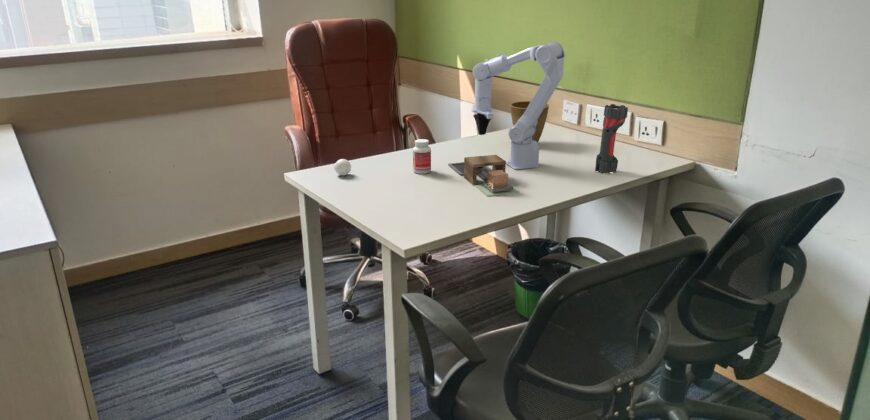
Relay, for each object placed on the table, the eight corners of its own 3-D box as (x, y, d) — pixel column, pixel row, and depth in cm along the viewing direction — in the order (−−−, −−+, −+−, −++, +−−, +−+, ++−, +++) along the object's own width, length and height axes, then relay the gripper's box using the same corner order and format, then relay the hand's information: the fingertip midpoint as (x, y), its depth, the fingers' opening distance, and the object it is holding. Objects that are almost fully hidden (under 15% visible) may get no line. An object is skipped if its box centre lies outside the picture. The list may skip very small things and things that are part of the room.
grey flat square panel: (479, 162, 234) (479, 160, 234) (493, 172, 222) (493, 170, 222) (448, 165, 230) (448, 163, 230) (461, 176, 219) (461, 174, 218)
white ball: (355, 175, 220) (354, 159, 218) (342, 178, 216) (341, 162, 214) (340, 170, 225) (340, 154, 223) (327, 174, 221) (326, 158, 219)
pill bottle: (434, 172, 223) (434, 141, 219) (419, 175, 219) (419, 144, 215) (424, 167, 227) (424, 137, 223) (409, 170, 224) (409, 139, 220)
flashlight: (625, 172, 222) (632, 106, 214) (611, 176, 218) (618, 109, 209) (607, 166, 228) (613, 102, 220) (592, 171, 223) (598, 105, 215)
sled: (482, 166, 225) (482, 154, 223) (513, 189, 203) (513, 175, 201) (463, 168, 223) (463, 155, 221) (492, 192, 200) (493, 178, 199)
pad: (506, 182, 212) (506, 181, 212) (519, 192, 203) (519, 191, 203) (475, 186, 209) (475, 185, 209) (487, 196, 200) (487, 195, 200)
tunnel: (495, 174, 220) (495, 154, 218) (505, 181, 213) (505, 161, 211) (464, 177, 217) (464, 157, 214) (472, 185, 210) (473, 164, 207)
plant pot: (553, 143, 256) (556, 104, 251) (532, 151, 246) (535, 110, 240) (522, 137, 266) (524, 98, 260) (501, 144, 255) (502, 104, 249)
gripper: (465, 93, 234) (464, 130, 239) (480, 101, 221) (479, 140, 226) (483, 92, 236) (482, 128, 241) (499, 100, 223) (497, 138, 228)
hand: (482, 134), depth 234 cm, fingers closed
